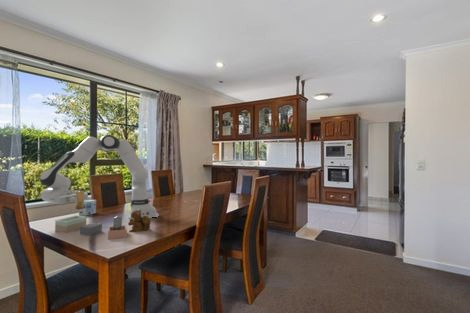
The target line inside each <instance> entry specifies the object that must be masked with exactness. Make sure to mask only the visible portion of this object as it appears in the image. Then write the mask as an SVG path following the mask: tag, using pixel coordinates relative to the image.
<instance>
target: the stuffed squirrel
mask: <svg viewBox="0 0 470 313" xmlns="http://www.w3.org/2000/svg"><path fill="white" fill-rule="evenodd" d="M131 217H132V218H134V219H130V218H129V222H127V225H128V226H131V229H130V230H129V231H128V232H129V233H135V232H136V233H137V232H143V231H148V230H150V228H151V222H152V220H151V218H149V217H148V216H143V217H141V210H136V211H134V212H132V213H131Z"/></svg>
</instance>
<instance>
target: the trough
mask: <svg viewBox="0 0 470 313" xmlns="http://www.w3.org/2000/svg"><path fill="white" fill-rule="evenodd" d="M54 223H55V224H54V231H55V232H59V233H67V234H68V233H70V232H73V231H76V230H80V227H81V226H84V225H87V216H84V215H73V216H68V217H65V218H59V219H56V220H55V222H54Z"/></svg>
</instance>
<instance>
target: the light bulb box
mask: <svg viewBox="0 0 470 313" xmlns="http://www.w3.org/2000/svg"><path fill="white" fill-rule="evenodd" d="M96 210H97V199H84V209H78V216H85V217H87V216H89V215H93V214H96V213H97V211H96Z"/></svg>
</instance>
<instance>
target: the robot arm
mask: <svg viewBox="0 0 470 313" xmlns="http://www.w3.org/2000/svg"><path fill="white" fill-rule="evenodd" d="M113 150H114V151H115V152H117V154H118V156H119V157H120V159H121V160H122V163H124V165H125V167H126V169H127V170H128V172H129V173H130V175H131V199H130V210H129V215H128V218H129V220H130V219H134V218H132V217H131V213H132V212H134V211H136V210H141V217H143V216H148V217H149V218H150V219H153V218H152V217H157V218H159V217H160V214H159V213H158V212H157V209H156V207H154V206H153V205H152V204H151V199H149V198H148V197H147V196H148V194H147V193H148V184H147V183H148V182H147V180H148V177H149V172H148V170H147V169H146V167H145V166H144V163H143V162H142V161H141V159H140V157H139V156H138V154H137V153H136V151H135V149H134V147H133V146H132V145H131V143H130V142H129V140H127V139H126V138H120V139H119V138H118V137H116V136H114V135H112V134H105V135H103V136H102V137H100V138H96V137H94V136H87V137H86V138H85V139H84V140H83V141H82V142H81V143H80V144H78V146H77V147H76V148H75V149H74V150H71V151H70V150H69V151H67V152H66V153H65V154H63V155H62V156H60V158H59V159H57V161H56V162H55V163H53V164H52V165H51V166H50V167H49V168H47V169H46V170H44V171H43V172H42V173H41V174H40V176H39V183H40V184H41V185H43V186H45V187H47V188H45V189H43V190H42V191H41V192H40V198H41V199H42V201H45V202H48V203H54V204H62V205H63V204H64V205H65V204H68V203H71V202H76V201H77V200H78V198H77V197H76V191H78V190H73V189H71V186H72V181H71V179H70V178H68V177H67V176H64V175H62V174H60V171H62V170H63V169H64V168H65V167H66V166H67V165H68V164H70V163H87V162H89V161H91V159H92V158H93V157H94V155H95V154H96V153H97V152H98V151H104V152H111V151H113ZM88 198H89V194H88V192H85V193H84V200H88ZM158 216H159V217H158Z"/></svg>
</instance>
